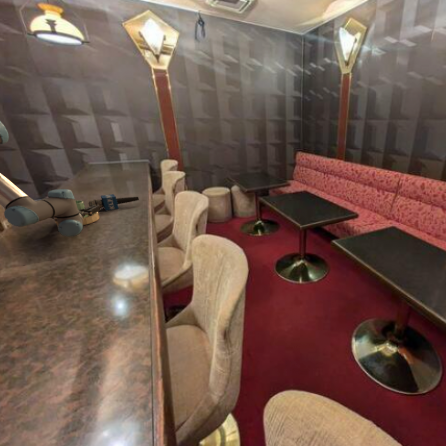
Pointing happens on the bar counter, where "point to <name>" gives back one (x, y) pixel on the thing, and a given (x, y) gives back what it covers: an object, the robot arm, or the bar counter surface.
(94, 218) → the bowl
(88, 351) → the bar counter surface
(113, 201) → the microphone
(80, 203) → the tumbler
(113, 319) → the bar counter surface
